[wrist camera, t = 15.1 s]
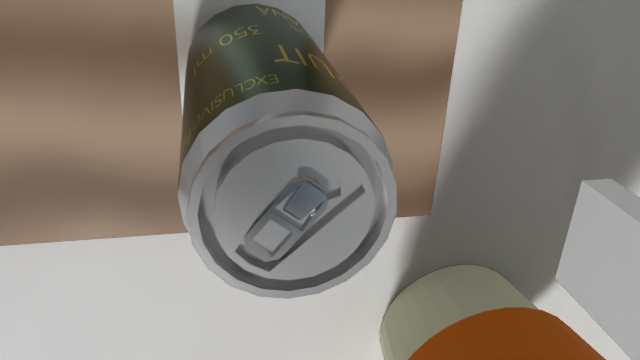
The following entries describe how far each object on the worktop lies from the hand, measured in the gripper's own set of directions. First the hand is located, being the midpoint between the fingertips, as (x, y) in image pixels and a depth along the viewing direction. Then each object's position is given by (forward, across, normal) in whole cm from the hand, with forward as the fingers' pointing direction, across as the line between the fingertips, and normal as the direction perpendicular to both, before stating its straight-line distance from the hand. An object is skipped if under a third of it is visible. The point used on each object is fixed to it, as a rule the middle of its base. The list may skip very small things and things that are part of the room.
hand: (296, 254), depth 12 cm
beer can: (+14, 0, 0) cm, 14 cm away
